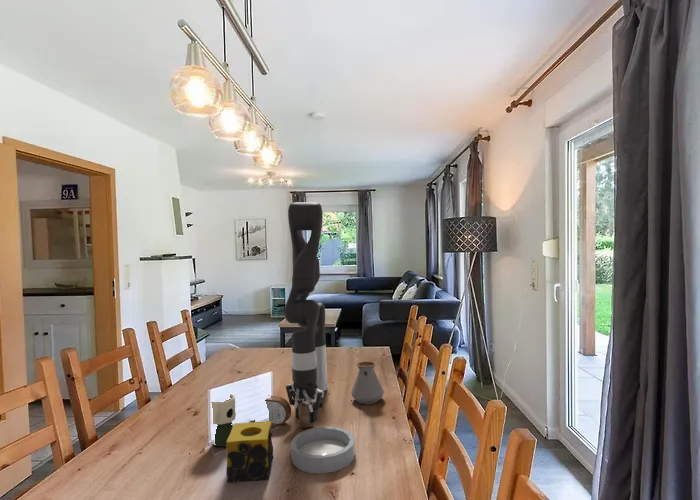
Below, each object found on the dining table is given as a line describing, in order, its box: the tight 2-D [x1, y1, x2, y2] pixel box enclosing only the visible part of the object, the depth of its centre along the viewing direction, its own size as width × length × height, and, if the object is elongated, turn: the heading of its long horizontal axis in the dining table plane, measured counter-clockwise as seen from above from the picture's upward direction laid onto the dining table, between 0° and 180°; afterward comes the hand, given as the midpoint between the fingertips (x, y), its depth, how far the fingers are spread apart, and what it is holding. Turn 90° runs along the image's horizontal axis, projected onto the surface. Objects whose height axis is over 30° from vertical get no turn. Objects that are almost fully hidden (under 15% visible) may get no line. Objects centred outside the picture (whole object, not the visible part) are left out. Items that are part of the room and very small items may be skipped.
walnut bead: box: [298, 400, 315, 428], centre depth 122 cm, size 5×5×6 cm
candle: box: [225, 421, 274, 484], centre depth 99 cm, size 10×10×10 cm
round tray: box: [290, 426, 356, 474], centre depth 105 cm, size 16×16×4 cm
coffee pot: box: [350, 360, 385, 405], centre depth 136 cm, size 21×12×15 cm, turn 176°
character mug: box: [211, 393, 237, 447], centre depth 113 cm, size 11×7×13 cm, turn 177°
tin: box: [265, 395, 292, 426], centre depth 126 cm, size 15×3×8 cm, turn 71°
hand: (306, 420), depth 122 cm, fingers closed on walnut bead, 4 cm apart
